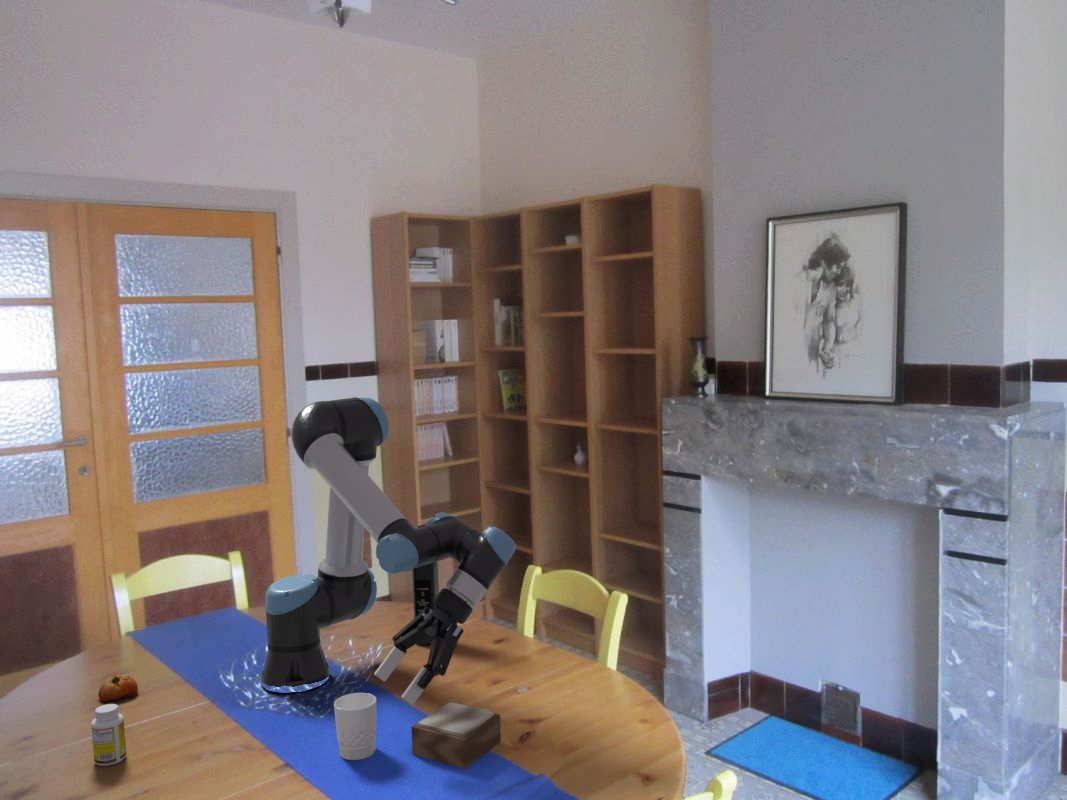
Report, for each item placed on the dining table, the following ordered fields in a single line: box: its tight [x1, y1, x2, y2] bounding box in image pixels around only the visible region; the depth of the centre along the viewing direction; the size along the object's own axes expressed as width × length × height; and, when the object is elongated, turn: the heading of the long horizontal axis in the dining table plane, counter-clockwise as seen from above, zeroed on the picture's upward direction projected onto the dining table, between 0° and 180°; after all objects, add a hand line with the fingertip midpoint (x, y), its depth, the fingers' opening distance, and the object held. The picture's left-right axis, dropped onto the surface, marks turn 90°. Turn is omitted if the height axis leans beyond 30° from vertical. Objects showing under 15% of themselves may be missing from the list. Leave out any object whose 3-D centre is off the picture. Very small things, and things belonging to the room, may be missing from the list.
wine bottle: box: [411, 524, 440, 646], centre depth 227 cm, size 6×6×30 cm
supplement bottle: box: [90, 703, 127, 767], centre depth 168 cm, size 6×6×10 cm
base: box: [411, 701, 502, 770], centre depth 170 cm, size 12×12×6 cm
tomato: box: [97, 674, 139, 703], centre depth 199 cm, size 8×7×7 cm
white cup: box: [333, 692, 377, 761], centre depth 169 cm, size 8×8×10 cm
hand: (392, 689), depth 171 cm, fingers open, 13 cm apart
